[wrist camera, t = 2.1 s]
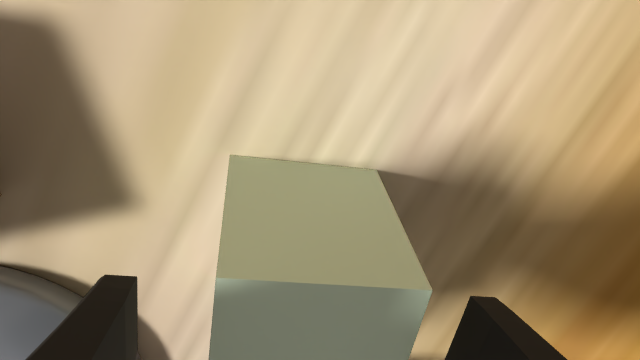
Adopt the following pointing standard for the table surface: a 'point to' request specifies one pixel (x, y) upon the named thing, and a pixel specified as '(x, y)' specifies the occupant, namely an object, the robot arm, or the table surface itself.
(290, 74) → the table surface
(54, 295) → the coaster
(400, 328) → the sage block
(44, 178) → the table surface
